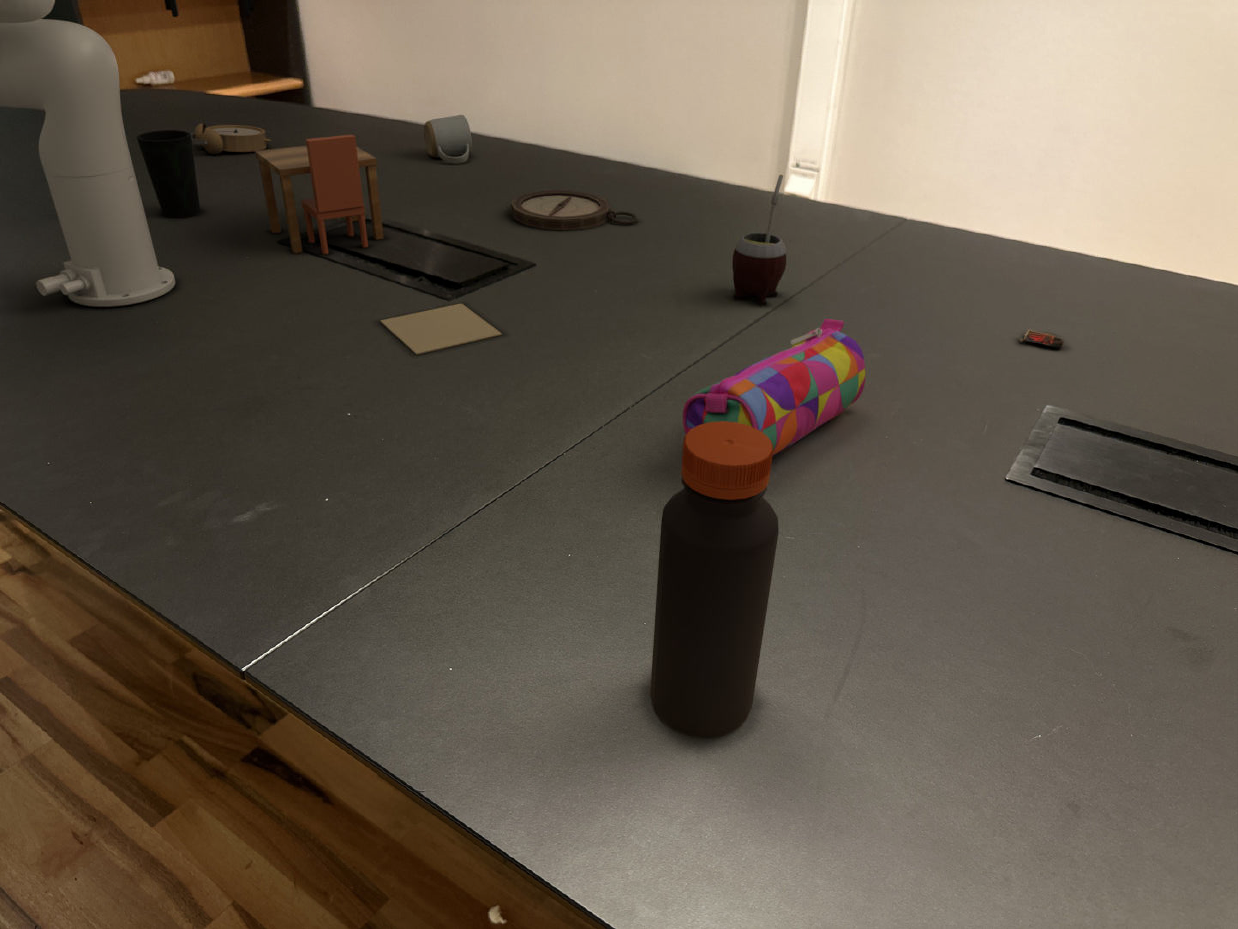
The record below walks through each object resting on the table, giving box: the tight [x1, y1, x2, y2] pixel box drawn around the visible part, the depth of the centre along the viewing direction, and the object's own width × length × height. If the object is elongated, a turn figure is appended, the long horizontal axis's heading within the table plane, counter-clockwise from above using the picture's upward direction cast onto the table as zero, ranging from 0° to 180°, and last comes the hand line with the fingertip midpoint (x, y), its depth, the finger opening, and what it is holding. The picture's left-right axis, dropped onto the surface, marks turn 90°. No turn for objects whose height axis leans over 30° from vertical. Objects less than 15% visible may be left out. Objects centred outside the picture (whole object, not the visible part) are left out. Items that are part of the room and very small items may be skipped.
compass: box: [510, 189, 638, 231], centre depth 149 cm, size 20×16×2 cm
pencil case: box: [682, 318, 866, 457], centre depth 88 cm, size 22×9×9 cm, turn 141°
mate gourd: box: [731, 174, 787, 306], centre depth 118 cm, size 8×8×15 cm
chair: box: [301, 134, 369, 255], centre depth 130 cm, size 7×7×16 cm
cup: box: [136, 129, 201, 219], centre depth 142 cm, size 8×8×12 cm
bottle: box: [649, 421, 780, 739], centre depth 54 cm, size 7×7×20 cm
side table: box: [254, 145, 384, 254], centre depth 135 cm, size 12×14×12 cm
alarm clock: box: [190, 123, 272, 155], centre depth 180 cm, size 11×5×15 cm
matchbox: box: [1019, 329, 1065, 349], centre depth 111 cm, size 5×5×1 cm
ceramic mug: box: [423, 114, 473, 165], centre depth 178 cm, size 11×8×8 cm
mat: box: [379, 303, 502, 356], centre depth 110 cm, size 11×11×1 cm
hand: (212, 15), depth 130 cm, fingers open, 9 cm apart
